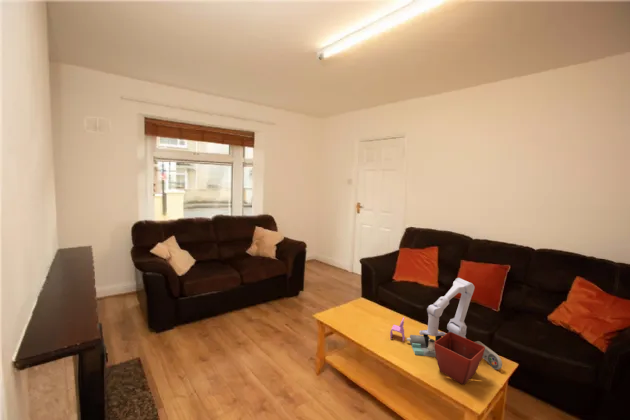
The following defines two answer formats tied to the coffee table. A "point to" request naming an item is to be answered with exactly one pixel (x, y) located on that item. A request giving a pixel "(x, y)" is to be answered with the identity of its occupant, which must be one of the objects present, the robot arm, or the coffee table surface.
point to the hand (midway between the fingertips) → (431, 346)
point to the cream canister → (431, 345)
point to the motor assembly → (420, 346)
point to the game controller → (491, 357)
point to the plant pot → (458, 356)
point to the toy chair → (398, 329)
